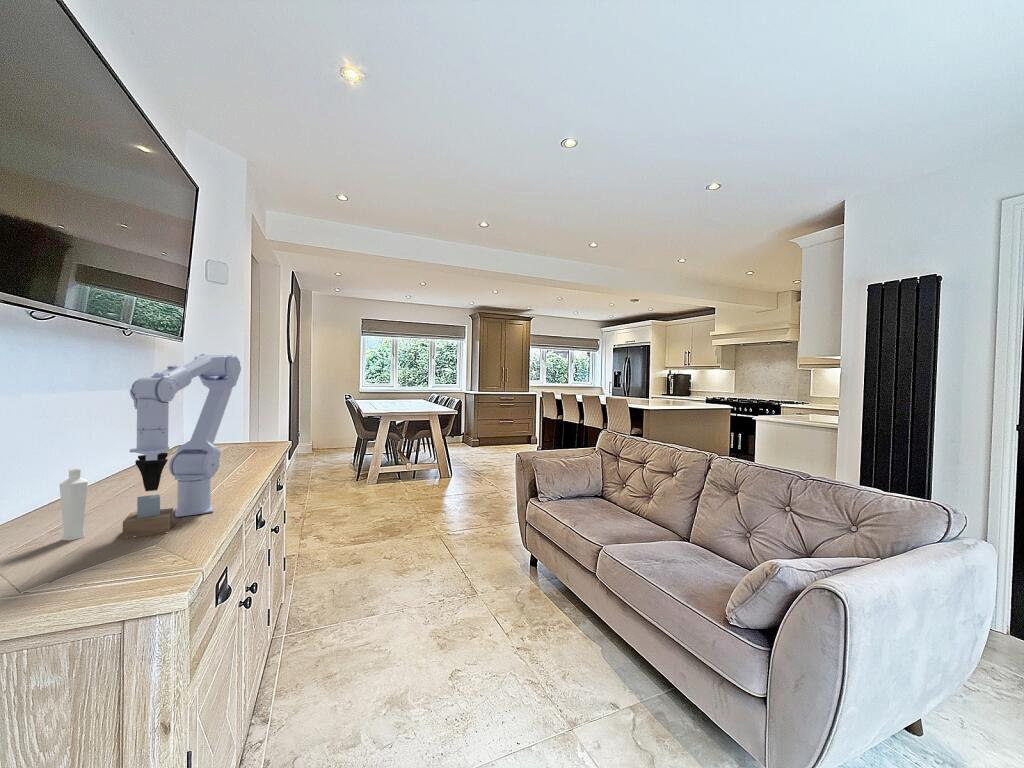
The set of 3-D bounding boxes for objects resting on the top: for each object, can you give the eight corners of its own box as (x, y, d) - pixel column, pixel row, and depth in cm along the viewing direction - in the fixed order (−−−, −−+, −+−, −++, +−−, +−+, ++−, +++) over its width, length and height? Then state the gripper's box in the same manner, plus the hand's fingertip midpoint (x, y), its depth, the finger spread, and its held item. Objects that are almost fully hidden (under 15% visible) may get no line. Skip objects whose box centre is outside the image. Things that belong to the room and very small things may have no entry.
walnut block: (130, 529, 104) (130, 512, 104) (173, 524, 108) (173, 508, 108) (122, 540, 97) (122, 521, 97) (168, 534, 101) (168, 516, 101)
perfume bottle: (82, 532, 101) (83, 466, 101) (91, 535, 99) (92, 468, 99) (55, 539, 96) (56, 470, 96) (64, 542, 94) (65, 472, 95)
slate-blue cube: (137, 514, 103) (137, 496, 103) (159, 511, 106) (159, 494, 106) (137, 518, 100) (137, 500, 100) (159, 515, 103) (160, 497, 103)
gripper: (132, 427, 106) (131, 483, 106) (127, 432, 95) (127, 496, 95) (169, 425, 111) (168, 480, 111) (169, 431, 99) (168, 491, 99)
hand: (152, 487), depth 103 cm, fingers open, 7 cm apart
